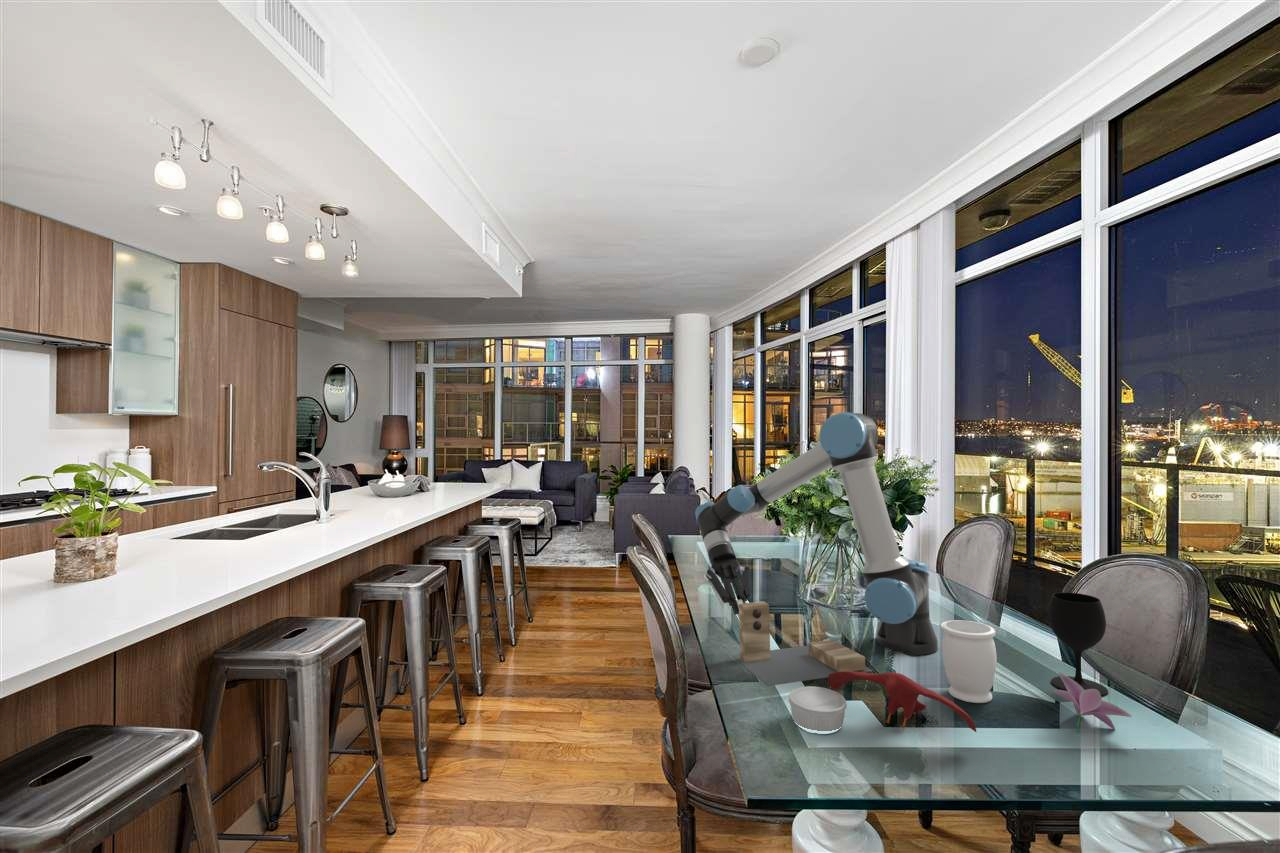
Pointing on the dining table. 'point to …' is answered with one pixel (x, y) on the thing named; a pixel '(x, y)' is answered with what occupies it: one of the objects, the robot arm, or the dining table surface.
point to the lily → (1089, 702)
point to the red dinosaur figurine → (898, 692)
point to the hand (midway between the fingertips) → (745, 624)
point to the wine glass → (1077, 630)
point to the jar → (969, 659)
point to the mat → (789, 666)
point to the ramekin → (817, 708)
